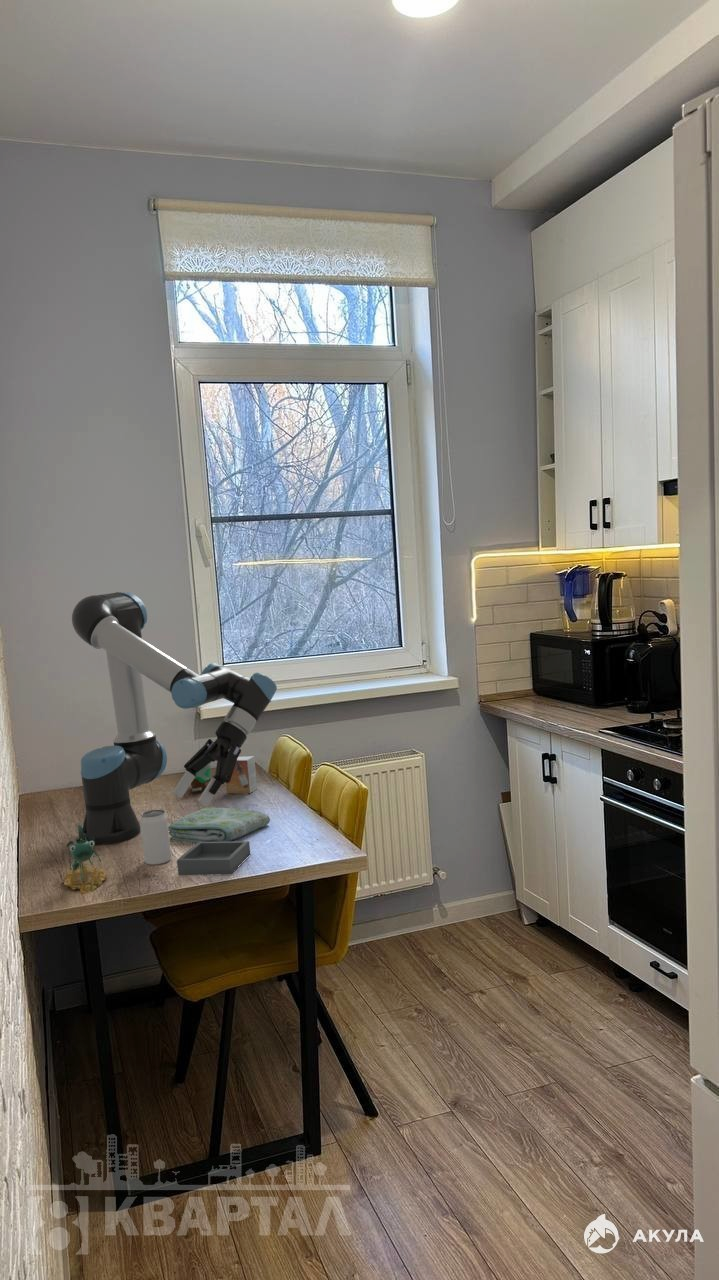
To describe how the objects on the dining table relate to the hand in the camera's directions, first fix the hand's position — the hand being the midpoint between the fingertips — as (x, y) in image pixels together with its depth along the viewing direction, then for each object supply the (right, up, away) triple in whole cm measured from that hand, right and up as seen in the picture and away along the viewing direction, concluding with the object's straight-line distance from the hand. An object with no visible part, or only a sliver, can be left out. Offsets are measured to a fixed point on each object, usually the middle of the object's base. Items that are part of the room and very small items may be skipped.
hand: (188, 799), depth 229 cm
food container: (-7, -8, +64) cm, 64 cm away
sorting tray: (+8, -14, -10) cm, 19 cm away
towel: (+5, -12, +16) cm, 21 cm away
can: (-7, -14, -4) cm, 16 cm away
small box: (+6, -7, +57) cm, 57 cm away
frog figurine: (-21, -17, -14) cm, 30 cm away
